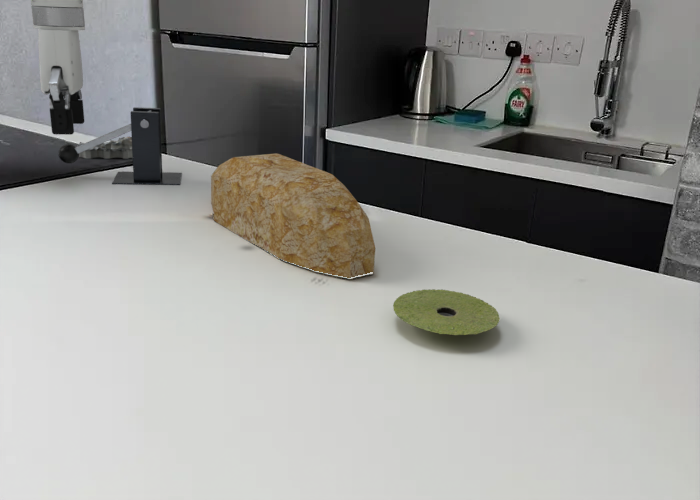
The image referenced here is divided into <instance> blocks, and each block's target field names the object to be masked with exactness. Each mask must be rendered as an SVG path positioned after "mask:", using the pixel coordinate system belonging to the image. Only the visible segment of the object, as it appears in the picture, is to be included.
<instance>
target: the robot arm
mask: <svg viewBox="0 0 700 500" xmlns="http://www.w3.org/2000/svg"><path fill="white" fill-rule="evenodd" d="M30 5H31V17H32V27H33V29H35V30H38V38H37V39H38V40H37V41H38V63H39V80H40V91H41V93H42V94H44V95H49V96H48V98H49V103H48V104H49V117H50V125H51V126H50V127H51V133H52V134H53V135H67V136H68V135H73V134H74V133H75V128H74V127H75V125H83V124H84V123H85V111H84V99H83V96H82V95H83V94H82V90H81V89H83V85H84V76H83V63H82V51H81V40H80V34H79V31H85V30H86V24H85V23H86V21H85V12H84V11H85V10H84V0H30Z"/></svg>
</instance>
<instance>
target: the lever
mask: <svg viewBox="0 0 700 500" xmlns="http://www.w3.org/2000/svg"><path fill="white" fill-rule="evenodd" d="M147 112H152V111H151V110H150V111H147ZM128 133H131V123H129V124H127V125H124V126H122V127H120V128H118V129H115V130H112V131H110V132H108V133H105V134H103V135H100V136H99V137H96V138H94V139H92V140H91V139H90V140H89V141H87V143H86V142H83V143H84V144H82V145H80V146H78V145H77V146H75V145H73V144H70V143H66V144H63V145H62V146H61V147H59V149H58V158H59V159H60V160H61V161H62V162H63V163H66V164H74V163H75V162H77V161H78V159H79V158H80V157H79V153H81V152H83V151H85V150H88V149H90V148H92V147H95V146H97V145H99V144H102V143H106V142H110V141H111V140H113V139H116V138H118V137H121V136H122V135H125V134H128Z"/></svg>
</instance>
